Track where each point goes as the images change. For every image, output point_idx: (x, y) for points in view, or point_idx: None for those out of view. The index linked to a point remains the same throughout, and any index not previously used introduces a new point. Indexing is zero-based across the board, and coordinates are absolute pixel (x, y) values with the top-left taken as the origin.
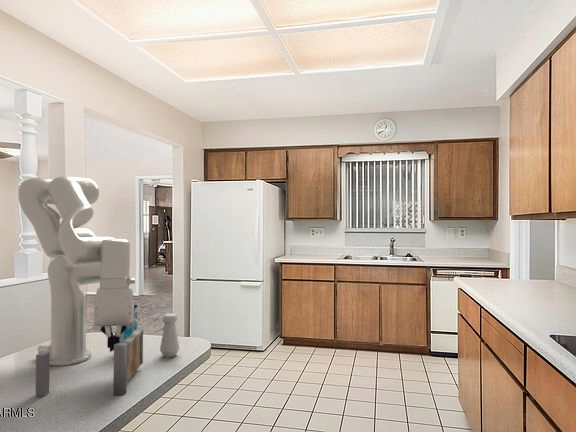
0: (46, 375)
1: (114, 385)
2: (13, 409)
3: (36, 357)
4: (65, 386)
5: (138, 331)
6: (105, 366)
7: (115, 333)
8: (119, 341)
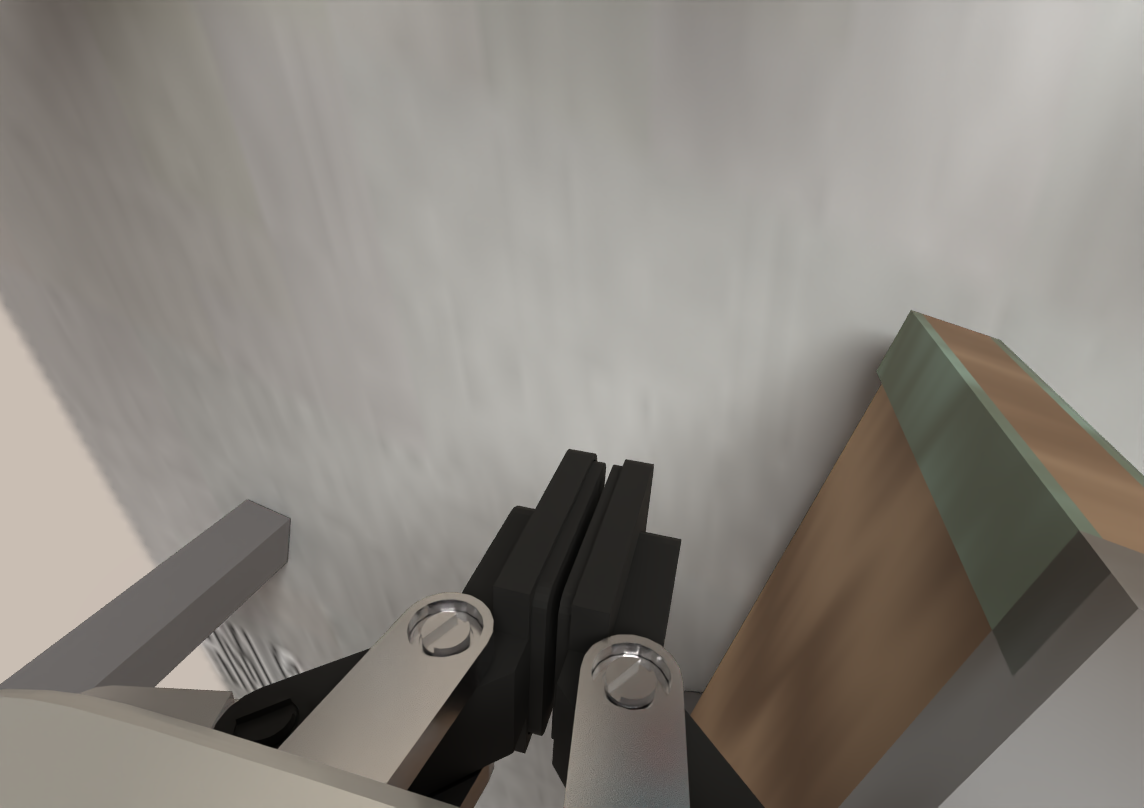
0: (196, 626)
1: None
2: (218, 631)
3: None
4: (349, 465)
5: (1123, 802)
6: (577, 87)
7: (564, 782)
8: (670, 603)
